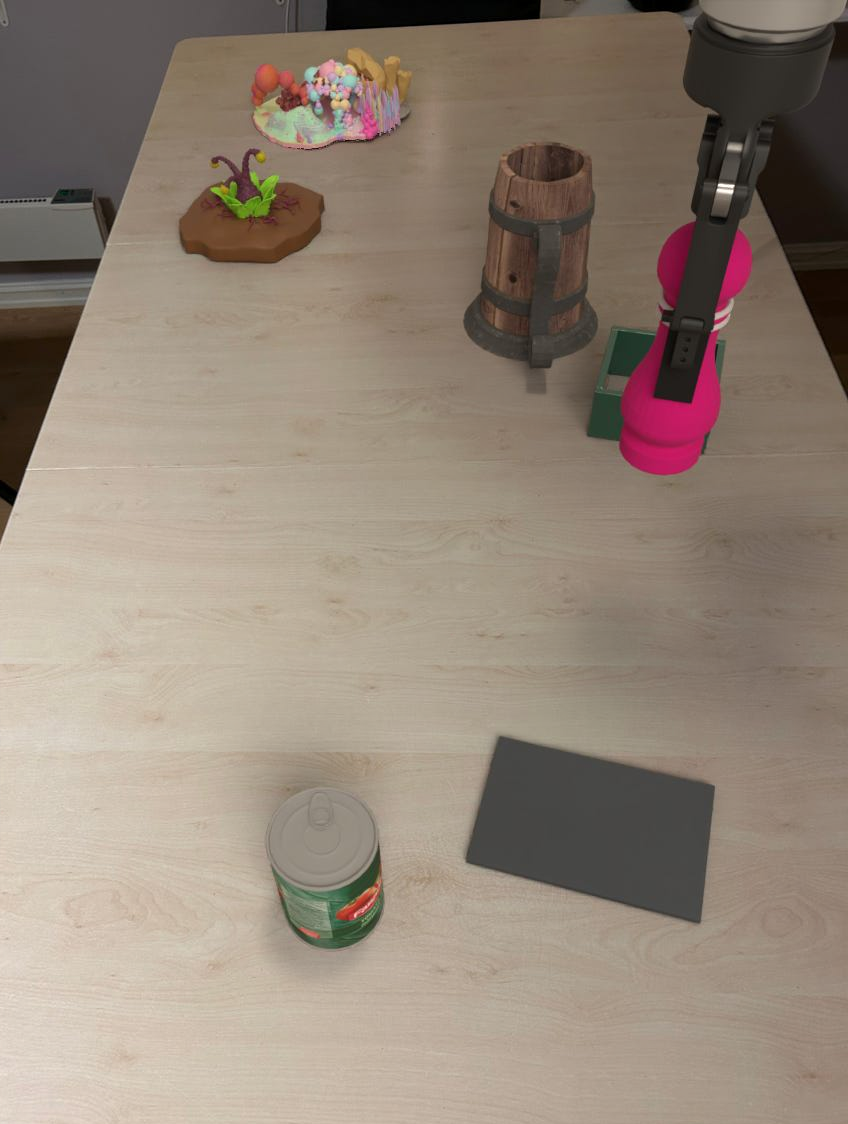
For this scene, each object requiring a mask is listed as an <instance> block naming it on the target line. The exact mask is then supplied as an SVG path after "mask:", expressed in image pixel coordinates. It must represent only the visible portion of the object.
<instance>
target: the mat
mask: <svg viewBox="0 0 848 1124" xmlns="http://www.w3.org/2000/svg"><path fill="white" fill-rule="evenodd" d="M715 790H716V786H715V785H713V784H709V783H704V782H700V781H696V780H691V779H687V778H684V777H678V776H674V775H670V774H666V773H662V772H658V771H657V772H656V771H653V770H648V769H645V768H639V767H635V766H631V765H626V764H622V763H618V762H613V761H610V760H604V759H601V758H597V757H592V756H588V755H583V754H579V753H575V752H570V751H566V750H562V749H557V748H554V747H549V746H545V745H541V744H536V743H532V742H527V741H523V740H519V739H515V738H511V737H504V736H501V735H500V736H499V737H498V740H497V743H496V746H495V749H494V754H493V758H492V761H491V765H490V769H489V772H488V777H487V780H486V783H485V788H484V791H483V795H482V799H481V802H480V806H479V810H478V813H477V817H476V820H475V825H474V828H473V832H472V836H471V839H470V843H469V846H468V850H467V854H466V858H465V863H467V864H470V865H474V866H478V867H482V868H486V869H489V870H492V871H493V870H494V871H497V872H500V873H505V874H508V875H511V876H512V875H513V876H516V877H520V878H523V879H528V880H531V881H535V882H539V883H542V884H543V883H544V884H546V885H550V886H554V887H557V888H561V889H566V890H569V891H573V892H577V893H579V894H580V893H581V894H585V895H588V896H591V897H596V898H600V899H603V900H607V901H611V902H615V903H619V904H622V905H626V906H630V907H634V908H637V909H640V910H644V911H645V910H646V911H648V912H653V913H657V914H661V915H664V916H668V917H672V918H676V919H678V920H683V921H686V922H690V923H695V924H700V923H701V922H702V913H703V907H704V906H703V905H704V897H705V888H706V887H705V886H706V877H707V866H708V857H709V848H710V840H711V839H710V838H711V828H712V820H713V812H714V801H715V800H714V799H715Z"/></svg>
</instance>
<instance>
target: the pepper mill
mask: <svg viewBox="0 0 848 1124" xmlns="http://www.w3.org/2000/svg"><path fill="white" fill-rule="evenodd" d="M695 221H696V220H693V221H690V222H688V223H686V224H684V225H682V226H681V225H680V227H678V228H677V229H676V230H675V231H674V232H672V233H671V235H669V236H668V237H667V239H666V240H665V243H663V245H662V247H661V250H660V252H659V255H658V258H657V266H656V277H657V279H658V281H659V284H660V286H661V288H660V290H659V292H658V295H657V303H656V304H655V314H656V317H657V318H658V320H659V322H658V328H657V330H656V331H657V334H656V337H655V340H654V342H653V344H652V346H651V348H650V350H649V351H648V353H647V354H646V356H645V357H644V358H643V360H642V361H641V362H640V364H639V365H638V366H637V367H636V369H635V370H634V371H633V373H632V375H631V377H629V378H628V381H627V382H626V384H625V386H624V389H623V391H622V392H623V396H622V399H621V412H622V416H623V418H624V420H625V422H624V424H623V427H622V432H621V437H620V441H619V443H618V449H619V452H620V454H621V456H622V458H623V459H624V461H626V462H627V463H628V464H629V465H630V466H631V467H633V468H635V469H637V470H639V471H641V472H643V473H645V474H646V473H647V474H651V475H655V476H671V475H672V476H673V475H678V474H682V473H684V472H686V471H688V470H690V469H691V468H692V467H693V466H695V465H696V464H697V462H698V461H699V459H700V456H701V454H700V453H701V450H702V446H703V443H704V435H705V434H707V433H708V432H709V431H710V432H711V430H712V429H713V428H714V426H715V425H716V423H717V421H718V418H719V414H720V409H721V403H722V393H721V392H722V391H721V383H720V384H719V380H718V376H717V372H716V366H715V347H716V341H717V339H718V336H719V333H720V330H721V329H722V328H723V327H725V326H726V325H727V324H728V323H729V321H730V319H731V315H732V314H731V311H732V309H733V308H734V305H735V301H734V300H735V299H734V298H735V296H737V295H738V294H740V293H741V292H742V291H743V289H744V287H745V286H746V285H747V283H748V281H749V278H750V276H751V273H752V267H753V251H752V250H753V249H752V247H751V243H750V241H749V239H748V237H747V236H746V235H745V234H744V233H743V231H741V229H739V228H738V229H737V233H736V236H735V240H734V244H733V248H732V251H731V255H730V259H729V263H728V267H727V270H726V274H725V278H724V282H723V285H722V289H721V293H720V297H719V301H718V304H717V308H716V312H715V320H714V322H715V324H714V328H713V330H712V331H711V334H710V337H709V340H708V344H707V348H706V352H705V355H704V359H703V363H702V367H701V370H700V374H699V378H698V382H697V385H696V389H695V393H694V397H693V400H692V404H688V403H682V402H676V401H670V400H664V399H658V398H653V396H654V391H655V387H656V382H657V378H658V374H659V369H660V365H661V360H662V356H663V351H664V347H665V343H666V338H667V334H668V329H669V325H670V323H668V322H661V317H662V313H663V310H664V309H666V310H673V309H674V308H676V304H677V300H678V295H679V291H680V286H681V282H682V278H683V273H684V269H685V265H686V260H687V256H688V252H689V247H690V243H691V238H692V234H693V230H694V225H695Z"/></svg>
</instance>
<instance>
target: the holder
mask: <svg viewBox="0 0 848 1124" xmlns="http://www.w3.org/2000/svg"><path fill="white" fill-rule="evenodd" d="M657 331H658V330H651V329H650V330H649V329H641V328H634V327H628V326H627V327H625V326H620V325H612V326H611V329H610V331H609V332H610V333H609V336H608V340H607V344H606V348H605V351H604V355H603V359H602V362H601V366H600V370H599V373H598V377H597V381H596V385H595V389H594V393H593V398H592V406H591V411H590V418H589V423H588V424H589V425H588V429H587V437H593V438H599V439H604V440H611V441H617V442H618V441H619V442H620V437H621V432H622V427H623V424H624V422H625V420H624V418H623V416H622V412H621V399H622V396H623V392H624V391H621V390H615V389H614V390H613V389H608V386H609V381H610V377H611V375H614V376H615V375H616V376H621V377H629V378H630V377H631V375H632V373H633V371H634V370H635V369H636V367H637V366H638V365H639V364H640V362H641V361H642V360H643V358H644V357H645V356H646V354H647V353H648V351H649V350H650V348H651V346H652V344H653V342H654V340H655V337H656V334H657ZM726 346H727V340H725V339H719V338H717V341H716V347H715V366H716V372H717V376H718V380H719V384H720V385H721V381H722V373H723V368H724V367H723V366H724V360H725V352H726ZM710 433H711V430H710V431H709V432H708V433H707V434H705V435H704V443H703V446H702V450H701V453H700V455H704V454H705V452H706V447H707V443H708V441H709V438H710Z"/></svg>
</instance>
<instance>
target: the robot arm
mask: <svg viewBox="0 0 848 1124" xmlns="http://www.w3.org/2000/svg"><path fill="white" fill-rule="evenodd" d="M847 2H848V0H698V3H699V7H700V8H701V10H702V12H701V13H700V14H699V15H698V16H697V17H696V18H695V20H694V22H693V24H692V30H691V35H690V40H689V43H688V50H687V54H686V60H685V64H684V65H685V66H684V70H683V75H682V76H683V77H682V87H683V90H684V92H685V93H686V95H687V96H688V97H689V99H691V101H692V102H694V103H695V104H697V105H698V106H700V107H702V108H704V109H706V108H708V109H710V110H712V111H714V112H715V113H707V116H706V121H705V124H704V128H703V132H702V135H701V139H700V143H699V147H698V152H697V157H696V164H697V166H698V172H697V176H696V181H695V185H694V189H693V194H692V198H691V203H690V210H691V212H692V213H693V214H694V215H695V220H694V221H695V225H694V230H693V234H692V238H691V243H690V247H689V252H688V256H687V260H686V265H685V269H684V273H683V278H682V282H681V286H680V291H679V295H678V300H677V304H676V308H674V309H673V310H666V309H664V310H663V313H662V317H661V322H668V323H670V325H669V329H668V334H667V338H666V343H665V347H664V351H663V356H662V360H661V365H660V369H659V374H658V378H657V382H656V387H655V391H654V396H653V398H658V399H664V400H670V401H676V402H682V403H688V404H692V400H693V397H694V393H695V389H696V385H697V382H698V378H699V374H700V370H701V367H702V363H703V359H704V355H705V352H706V348H707V344H708V340H709V337H710V334H711V331H712V330H713V328H714V324H715V322H714V320H715V312H716V308H717V304H718V301H719V297H720V293H721V289H722V285H723V282H724V278H725V274H726V270H727V267H728V263H729V259H730V255H731V251H732V248H733V244H734V240H735V236H736V233H737V229H739V225H740V221H741V220H743V219H745V218H746V217H748V214H749V213H750V209H751V205H752V202H753V198H754V193H755V189H756V185H757V181H758V178H759V175H760V174H761V173H762V172H763V171H764V170H765V169H766V165H767V161H768V158H769V154H770V150H771V146H772V140H773V139H772V135H773V131H774V128H775V124H776V119H768V118H772V117H775V116H778V115H782V116H785V115H789V114H792V113H795V112H797V111H799V110H801V109H803V108H805V107H806V106H808V105H809V104H810V103H811V102H812V101H813V100H814V99H815V98H816V96H817V95H818V93H819V91H820V87H821V84H822V81H823V78H824V74H825V71H826V67H827V65H828V61H829V57H830V55H831V51H832V47H833V44H834V40H835V37H836V34H837V33H836V27H835V26H834V24H833V22H835V21H836V20H837V19H838V18H840V17H841V16H842V14H843V12H844V11H845V8H846V4H847Z"/></svg>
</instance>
